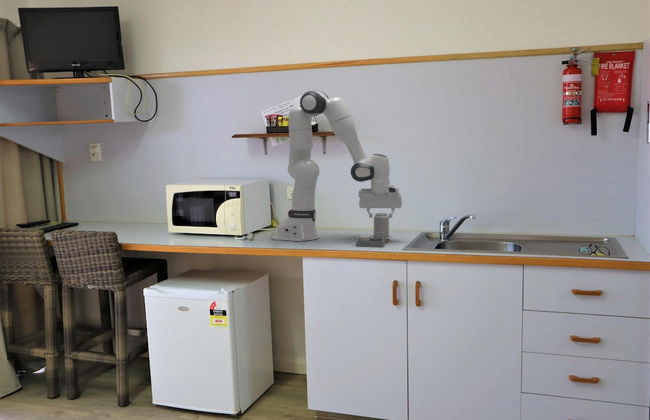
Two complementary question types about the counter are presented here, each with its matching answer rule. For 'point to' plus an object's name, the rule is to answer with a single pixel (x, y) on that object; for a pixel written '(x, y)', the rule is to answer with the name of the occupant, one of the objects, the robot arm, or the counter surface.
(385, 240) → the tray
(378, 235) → the stone
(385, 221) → the can
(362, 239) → the stone
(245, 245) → the counter surface
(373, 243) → the bin
